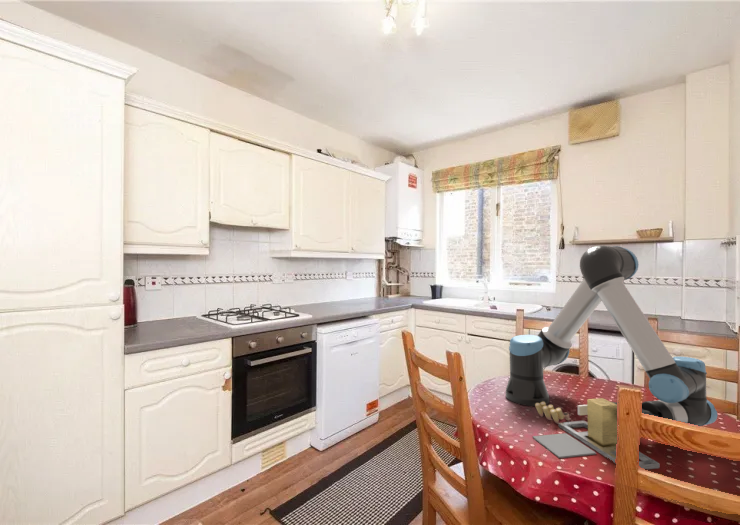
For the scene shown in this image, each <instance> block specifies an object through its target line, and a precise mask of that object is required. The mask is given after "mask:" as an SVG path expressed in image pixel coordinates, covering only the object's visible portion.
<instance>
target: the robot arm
mask: <svg viewBox="0 0 740 525" xmlns="http://www.w3.org/2000/svg"><path fill="white" fill-rule="evenodd" d="M579 269H580V273H581V275H582V277H583V279H582V281H581V283H580V284H579V285H578V286H577V288H576V289H575V291H574V292H573V293H572V294H571V296H570V297H569V299H568V301H567V302H566V303H565V305H564V306H563V307H562V309H561V310H560V311H559V313H558V314H557V315H556V317H555V318H554V320H553V321H552V322H551V324H550V325H549V326H544V327H542V329H541V330H540V331H539V333H538V334H537V335H536V334H535V335H534V334H520V335H515V336H513V337H511V338H510V340H509V346H508V349H509V379H508V382H507V384H506V388H505V398H506V399H507V400H509V401H511V402H513V403H516V404H519V405H522V406H528V407H529V406H530V407H536V406H535V404H536V403H541V402H545V403H546V406H548V405H549V404H550V396H549V392H548V390H547V386H546V384H545V380H544V368H548V367H552V366H557V365H560V364H562V363H564V361H566V360H567V358H568V357H569V355H570V349H571V348H572V346H573V343H572V339H573V338H574V337H575V335H576V334H577V333H578V332H579V330H580V329H581V327H582V326H583V325H584V324H585V323H586V321H587V320H588V319H589V318H590V317H591V315H592V314H593V312H595V310H596V308H598V306H599V305H600V304H601V302H602V303H603V305H604V307H605V308H606V310H607V312H608V313H609V315H610V317H611V318H612V319H613V321H614V323H615V325H616V326H617V328H618V330H619V331H620V333H621V334H622V336H623V337H624V339H625V340H626V342H627V344H628V345H629V347H630V348H631V350H632V352H633V353H634V355H635V357H636V359H637V360H638V362H639V364H640V365H641V367H642V368H643V370H644V372H645V374H646V375H647V377H648V379H649V381H648V389H649V391H650V393H651V394H652V396H654V397H655V398H656V399H658V400H647V401H642V402H641V403H642V413H644V414H649V415H654V416H658V417H663V418H668V419H672V420H676V421H681V422H685V423H690V424H694V425H698V426H697V427H703V426H706V425H711V424H713V423H715V422H716V421H717V419H718V411H717V409H716V407H715V405H714V404H713V403H712V402H711V401H710V400H708V399H707V375H708V373H707V371H706V370H707V369H706V363H705V362H704V361H703V360H701V359H698V358H694V357H690V356H674V357H673V356H672V354H671V353H670V352H669V350H668V349H667V347H666V346H665V344H664V342H663V341H662V340H661V338H660V337H659V335H658V334H657V332H656V331H655V329H654V327H653V326H652V325H651V323H650V321H649V320H648V318H647V317H646V315H645V314H644V312H643V311H642V310H641V308H640V306H639V305H638V304H637V302H636V300H635V299H634V297H633V296H632V294H631V293H630V291H629V290H628V287H626V285H625V284H624V281H626V280H629V279H630V278H632V277H633V276H635V275H636V274H637V272H638V270H639V259H638V257H637V256H636V254H635V253H634V252H633V251H632V250H630V249H628V248H625V247H622V246H618V245H617V246H615V245H614V246H609V245H608V246H607V245H596V246H595V245H594V246H593V247H589V248H588V249H587V250H585V252H584V253H582V255H581V257H580V260H579ZM611 402H612V403H615V404H617V401H616V402H615V401H611ZM540 405H541V404H540ZM577 415H578V416H588V412H587V404H579V405H578V404H577Z"/></svg>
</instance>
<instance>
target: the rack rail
mask: <svg viewBox="0 0 740 525" xmlns="http://www.w3.org/2000/svg"><path fill="white" fill-rule="evenodd" d="M557 425H558V428H560V429H562V430H563V431H565V433H567V434H568V435H570V436H571V437H573V438H574V439H576V440H577V441H579V442H580V443H582V444H584V445H585V446H587V447H588V448H590V449H591V450H593V451H594V452H596V453H598V454H600V455H602V456H603V457H604V458H606V457H607V459H608V458H609V459H610V460H609V459H608V460H609V461H611V460H612V461H613V463H614V464H616V463H615V459H616V446H613V447H604V448H602V447H601V446H599V445H597V444H596V443H594V442H593V441H591V440H589V439H588V421H585V420H575V421H566V422H565V421H563V422H559V423H558V424H557ZM574 428H576V429H577V428H585V429H587V431H576V430H575V429H574ZM638 460H639V466H640V467H641V468H644V469H647V470H655V469H660V462H658V461H657V460H655V459H653V458H651V457H649V456H648V455H646V454H644V453H642V452H641V451H639V459H638ZM612 461H611V462H612Z"/></svg>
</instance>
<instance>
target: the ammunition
mask: <svg viewBox="0 0 740 525" xmlns="http://www.w3.org/2000/svg"><path fill="white" fill-rule="evenodd" d="M540 404H541V405H540ZM534 407H535V408H536V411H537V413H538V415H539V416H540V417H544V415H545V418H546V419H547V420H549V421H551V420H552V419H553V421H554V423H555V424H557V425H558V423H560V420H564V419H565V420H566V422H570V414H569V412H563V410H562V408H561V407H556V408H555V407H554V405H553V404H547V405H546V403H545V402H541V403H536V404H535V406H534Z"/></svg>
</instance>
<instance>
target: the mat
mask: <svg viewBox="0 0 740 525" xmlns="http://www.w3.org/2000/svg"><path fill="white" fill-rule="evenodd" d="M532 438H533V439H534V440H535V441H536V442H538V443H539V444H540V445H542V446H543V447H544V448H545V449H547V450H548V451H549V452H551V454H552V455H555V456H556V457H557V458H558V459H564V458H565V459H566V458H574V457H584V456H593V455H597V451H595V450H594V449H592V448H591V447H589V446H588V445H586V444H585V443H583V442H581V441H580V440H578V439H577V438H575V437H574V436H572V435H571V434H569V433H567V432H563V433H555V434H544V435H533V436H532Z"/></svg>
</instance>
